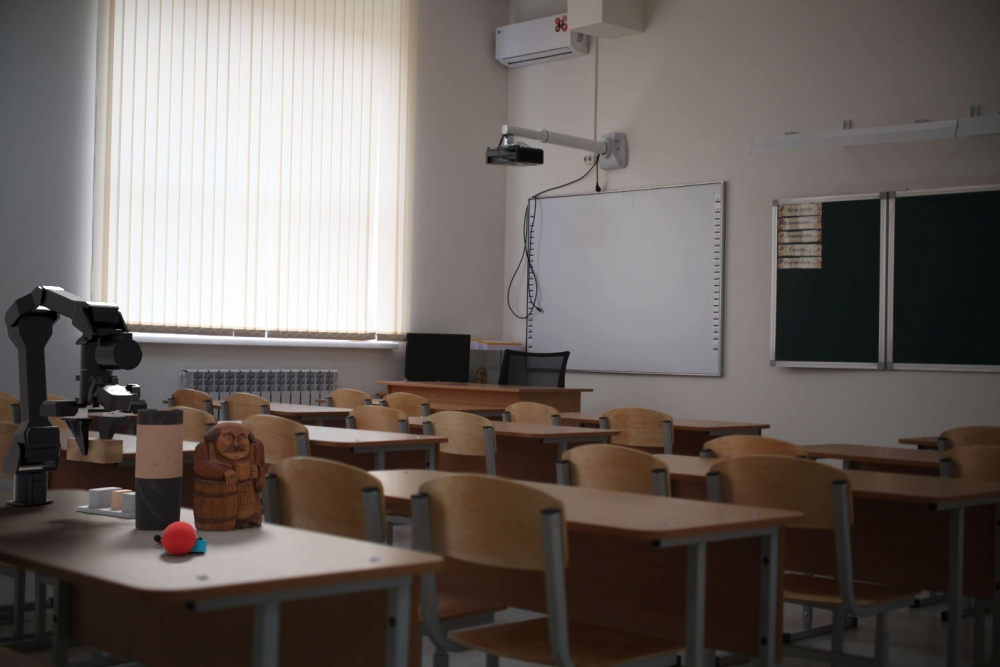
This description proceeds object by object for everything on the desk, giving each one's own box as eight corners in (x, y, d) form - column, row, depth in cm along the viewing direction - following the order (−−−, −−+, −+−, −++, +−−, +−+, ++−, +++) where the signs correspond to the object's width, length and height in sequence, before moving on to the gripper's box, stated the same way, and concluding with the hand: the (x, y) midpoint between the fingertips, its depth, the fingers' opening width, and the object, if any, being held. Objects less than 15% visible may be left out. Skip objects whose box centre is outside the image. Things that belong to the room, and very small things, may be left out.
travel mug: (150, 532, 163) (153, 410, 163) (124, 527, 167) (127, 409, 168) (190, 527, 169) (193, 409, 170) (164, 522, 173) (166, 408, 174)
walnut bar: (66, 459, 183) (67, 438, 184) (83, 458, 186) (84, 437, 186) (105, 463, 177) (105, 441, 177) (122, 462, 179) (122, 440, 180)
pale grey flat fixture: (76, 510, 186) (77, 489, 186) (117, 505, 194) (118, 485, 194) (130, 518, 177) (131, 496, 178) (171, 512, 185) (172, 491, 185)
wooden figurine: (207, 533, 162) (210, 424, 163) (188, 529, 166) (191, 422, 167) (270, 526, 170) (272, 421, 171) (250, 522, 175) (252, 420, 176)
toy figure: (151, 554, 153) (151, 554, 139) (155, 522, 154) (155, 519, 140) (202, 556, 155) (206, 556, 141) (205, 524, 156) (210, 521, 142)
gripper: (75, 370, 170) (72, 461, 169) (167, 370, 185) (165, 454, 185) (39, 369, 176) (36, 457, 176) (130, 370, 192) (128, 451, 191)
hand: (94, 454), depth 182 cm, fingers closed on walnut bar, 3 cm apart
